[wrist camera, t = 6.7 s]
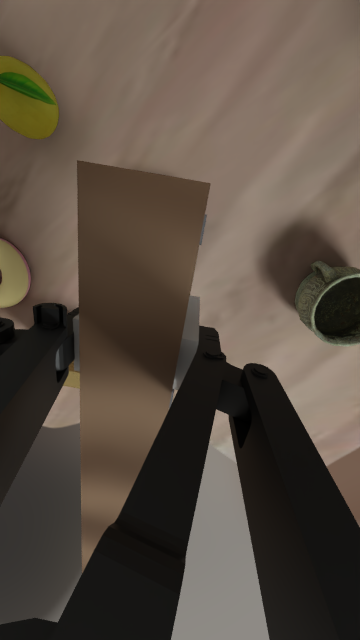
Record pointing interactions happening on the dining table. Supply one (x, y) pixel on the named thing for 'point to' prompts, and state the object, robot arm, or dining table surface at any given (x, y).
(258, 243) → the dining table surface
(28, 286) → the donut
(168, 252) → the beam
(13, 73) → the lemon
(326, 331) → the vessel
